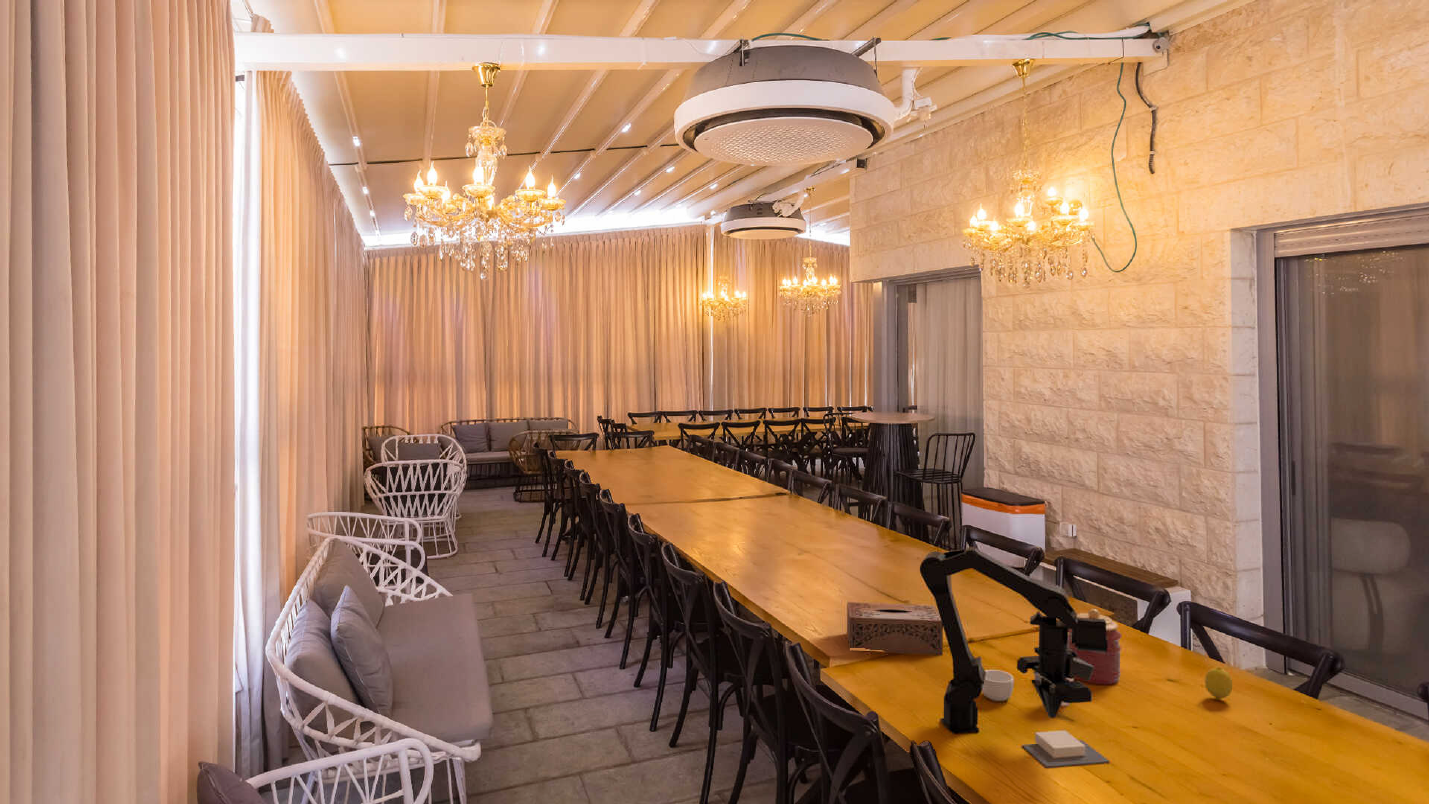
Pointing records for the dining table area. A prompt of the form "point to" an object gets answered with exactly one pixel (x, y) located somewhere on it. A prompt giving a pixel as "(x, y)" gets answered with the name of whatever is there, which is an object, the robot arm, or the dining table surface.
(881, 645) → the tissue box cover
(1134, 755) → the dining table surface
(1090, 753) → the mat
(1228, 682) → the lemon
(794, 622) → the dining table surface
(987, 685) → the teacup
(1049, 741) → the block
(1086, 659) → the canister
